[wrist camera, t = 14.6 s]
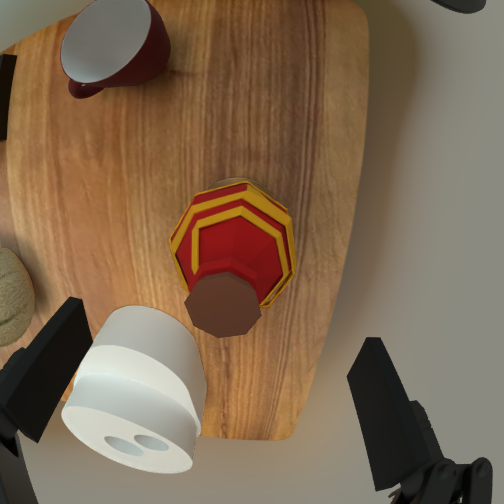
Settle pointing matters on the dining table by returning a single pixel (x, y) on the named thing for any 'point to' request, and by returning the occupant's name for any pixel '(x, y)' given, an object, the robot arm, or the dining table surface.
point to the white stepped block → (140, 392)
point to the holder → (5, 90)
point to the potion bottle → (232, 256)
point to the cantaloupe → (14, 298)
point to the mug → (114, 46)
